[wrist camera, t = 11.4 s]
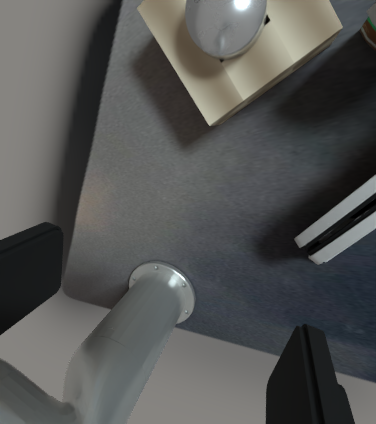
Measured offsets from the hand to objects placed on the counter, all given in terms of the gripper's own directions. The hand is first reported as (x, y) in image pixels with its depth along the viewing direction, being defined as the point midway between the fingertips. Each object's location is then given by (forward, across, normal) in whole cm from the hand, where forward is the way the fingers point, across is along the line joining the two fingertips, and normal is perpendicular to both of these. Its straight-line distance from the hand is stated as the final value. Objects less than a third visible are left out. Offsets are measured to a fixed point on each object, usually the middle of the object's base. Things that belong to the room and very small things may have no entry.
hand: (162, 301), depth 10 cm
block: (+27, +5, -16) cm, 32 cm away
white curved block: (+28, -14, -1) cm, 31 cm away
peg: (+26, +5, -16) cm, 31 cm away
